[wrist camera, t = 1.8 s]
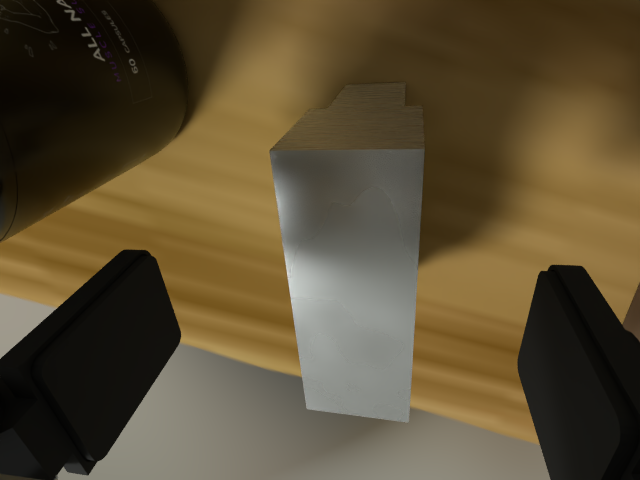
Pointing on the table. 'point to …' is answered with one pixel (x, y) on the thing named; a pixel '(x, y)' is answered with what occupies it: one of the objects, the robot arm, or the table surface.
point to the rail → (634, 316)
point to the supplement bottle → (81, 99)
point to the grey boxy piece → (354, 246)
